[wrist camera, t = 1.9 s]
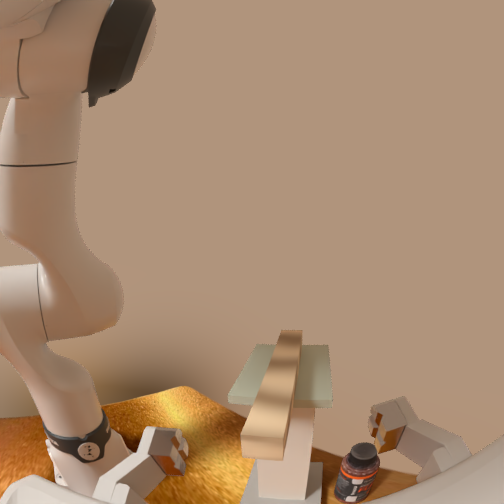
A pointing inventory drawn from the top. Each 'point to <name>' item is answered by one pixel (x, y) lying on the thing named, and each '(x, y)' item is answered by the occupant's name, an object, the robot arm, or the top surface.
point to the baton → (274, 402)
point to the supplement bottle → (357, 473)
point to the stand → (300, 431)
